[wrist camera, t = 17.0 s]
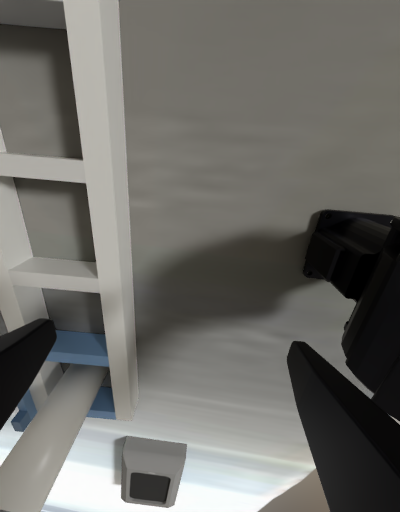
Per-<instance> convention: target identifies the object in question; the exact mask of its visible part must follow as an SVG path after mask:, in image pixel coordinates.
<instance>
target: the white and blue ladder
mask: <svg viewBox="0 0 400 512" xmlns="http://www.w3.org/2000/svg"><path fill="white" fill-rule="evenodd" d="M0 24H9V25H21V26H32V27H43V28H55V29H66V30H67V35H68V43H69V51H70V59H71V67H72V75H73V83H74V91H75V98H76V106H77V114H78V122H79V130H80V138H81V146H82V154H83V159H78V158H66V157H55V156H44V155H33V154H22V153H11V152H6V148H5V144H4V140H3V136H2V132H1V128H0V311H1V313H2V316H3V319H4V322H5V324H6V327H7V330H8V333H9V332H11V331H13V330H15V329H17V328H20V327H22V326H24V325H26V324H28V323H30V322H32V321H35V320H37V319H39V318H47V319H49V316H48V312H47V308H46V305H45V301H44V297H43V293H42V289H41V288H49V289H60V290H71V291H82V292H93V293H100V296H101V304H102V312H103V320H104V328H105V334H94V333H83V332H73V331H62V330H56V334H57V339H56V342H55V344H54V346H53V348H52V349H51V351H50V353H49V355H48V356H47V358H46V360H45V362H44V364H43V365H42V367H41V369H40V371H39V373H38V374H37V376H36V378H35V379H34V381H33V383H32V384H31V386H30V387H29V389H28V391H27V392H26V393H25V395H24V396H23V398H22V399H21V401H20V402H19V404H18V405H17V406H18V409H19V412H18V413H17V414H16V416H15V417H14V418H13V420H12V421H11V423H12V425H13V428H14V430H15V431H20V432H24V430H25V429H26V428H27V426H28V425H29V423H30V422H31V421H32V420H33V418H34V417H35V415H36V414H37V412H38V411H39V409H40V408H41V406H42V405H43V404H44V402H45V401H46V399H47V398H48V396H49V395H50V393H51V392H52V390H53V389H54V387H55V386H56V385H57V383H58V382H59V380H60V379H61V377H62V376H63V371H62V367H61V363H60V362H63V363H73V364H84V365H95V366H106V367H110V375H111V383H112V388H109V387H100V389H99V391H98V393H97V395H96V397H95V399H94V401H93V403H92V405H91V407H90V410H89V412H88V414H87V416H86V417H93V418H103V419H114V420H125V421H132V419H133V416H134V412H135V409H136V406H137V402H138V399H139V388H138V368H137V349H136V330H135V310H134V291H133V271H132V252H131V233H130V213H129V194H128V174H127V155H126V136H125V116H124V97H123V78H122V58H121V39H120V19H119V0H0ZM13 177H22V178H33V179H45V180H56V181H67V182H78V183H86V185H87V193H88V201H89V209H90V217H91V225H92V233H93V241H94V249H95V257H96V262H87V261H76V260H65V259H54V258H43V257H33V254H32V250H31V246H30V242H29V238H28V234H27V230H26V226H25V222H24V218H23V214H22V211H21V207H20V203H19V199H18V195H17V191H16V187H15V183H14V179H13Z"/></svg>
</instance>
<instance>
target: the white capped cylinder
mask: <svg viewBox="0 0 400 512" xmlns="http://www.w3.org/2000/svg"><path fill="white" fill-rule="evenodd" d="M108 369H109V367H106V366H95V365H84V364H73V363H71V364H70V365H69V367H68V368H67V370H66V371H65V373H64V374H63V376H62V377H61V379H60V380H59V382H58V383H57V385H56V386H55V387H54V389H53V390H52V392H51V393H50V395H49V396H48V398H47V399H46V401H45V402H44V404H43V405H42V406H41V408H40V409H39V411H38V412H37V414H36V415H35V417H34V418H33V420H32V421H31V423H30V424H29V425H28V427H27V428H26V430H25V431H24V433H23V434H22V436H21V437H20V439H19V440H18V442H17V443H16V445H15V446H14V447H13V449H12V450H11V452H10V453H9V455H8V456H7V458H6V459H5V461H4V462H3V464H2V465H1V466H0V512H40V511H41V509H42V507H43V505H44V503H45V501H46V499H47V497H48V495H49V493H50V490H51V488H52V486H53V484H54V482H55V480H56V478H57V476H58V474H59V472H60V470H61V468H62V466H63V463H64V461H65V459H66V457H67V455H68V453H69V451H70V449H71V447H72V445H73V443H74V441H75V439H76V437H77V434H78V432H79V430H80V428H81V426H82V424H83V422H84V420H85V418H86V416H87V414H88V412H89V410H90V407H91V405H92V403H93V401H94V399H95V397H96V395H97V393H98V391H99V389H100V387H101V385H102V383H103V380H104V378H105V376H106V374H107V372H108Z"/></svg>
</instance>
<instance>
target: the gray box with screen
mask: <svg viewBox="0 0 400 512" xmlns="http://www.w3.org/2000/svg"><path fill="white" fill-rule="evenodd" d="M186 449H187V444H182V443H175V442H168V441H160V440H153V439H146V438H139V437H132V436H127V437H126V441H125V444H124V447H123V453H122V483H121V499H122V500H124V501H125V502H127V503H135V504H142V505H150V506H158V507H166V508H169V507H171V506H173V505H174V504H175V500H176V496H177V492H178V488H179V484H180V480H181V476H182V472H183V468H184V464H185V459H186Z"/></svg>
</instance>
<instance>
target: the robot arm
mask: <svg viewBox="0 0 400 512" xmlns="http://www.w3.org/2000/svg"><path fill="white" fill-rule="evenodd" d="M328 213H329V217H327V218H325V216H326V214H328ZM391 220H392V222H391V223H390V221H391ZM305 259H306V262H305V266H304V269H303V274H304V275H305V276H306V277H307V278H316V279H325V280H326V281H327V282H330V283H331V284H332V285H333V286H334V287H335V288H336V289H337V290H338V291H339V292H340V293H341V294H342V295H343V296H344V297H345V298H348V299H353V300H354V301H355V302H356V306H355V308H354V310H353V312H352V314H351V317H350V319H349V321H347V322H346V324H345V326H344V331H345V332H344V334H343V336H342V343H341V345H342V348H343V351H344V353H345V356H346V358H347V359H346V362H345V363H346V365H347V366H348V367H349V369H350V370H351V371H352V373H353V374H354V375H355V376H356V378H357V379H358V380H359V381H360V382H361V383H362V384H363V385H364V386H365V387H366V388H367V389H369V390H370V391H371V392H372V393H374V395H373V397H372V398H371V399H370V398H368V397H367V396H366V395H365V394H364V393H363V392H362V391H360V390H359V389H358V388H357V387H356V386H355V385H354V384H352V383H351V382H350V381H349V380H348V379H347V378H346V377H344V376H343V375H342V374H341V373H340V372H339V371H338V370H336V369H335V368H334V367H333V366H332V365H331V364H330V363H328V362H327V361H326V360H325V359H324V358H323V357H322V356H320V355H319V354H318V353H317V352H316V351H315V350H313V349H312V348H311V347H310V346H309V345H308V344H307V343H305V342H301V341H293V342H292V344H291V347H290V350H289V353H288V356H287V365H288V369H289V374H290V378H291V383H292V388H293V392H294V397H295V401H296V405H297V409H298V412H299V416H300V419H301V422H302V425H303V428H304V431H305V434H306V437H307V441H308V444H309V447H310V450H311V453H312V456H313V459H314V462H315V466H316V469H317V472H318V475H319V478H320V481H321V484H322V487H323V490H324V493H325V497H326V500H327V503H328V506H329V509H330V512H400V425H399V424H398V423H397V422H396V421H395V420H394V419H393V418H391V417H390V416H392V417H394V418H395V419H397V420H398V421H400V217H396V216H393V215H384V214H373V213H362V212H351V211H340V210H329V209H327V210H324V211H323V212H322V213H321V214H320V217H319V221H318V224H317V227H316V230H315V232H314V233H313V234H312V237H311V241H310V244H309V247H308V250H307V254H306V257H305ZM308 271H311V272H310V273H308V274H307V272H308ZM56 339H57V334H56V330H55V326H54V322H53V320H52V319H47V318H39V319H37V320H35V321H32V322H30V323H28V324H26V325H24V326H22V327H20V328H17V329H15V330H13V331H11V332H9V333H7V334H5V335H2V336H0V430H1V429H2V427H3V426H4V424H5V423H6V421H7V420H8V418H9V417H10V416H11V414H12V413H13V411H14V410H15V408H16V407H17V405H18V404H19V402H20V401H21V399H22V398H23V396H24V395H25V393H26V392H27V391H28V389H29V387H30V386H31V384H32V383H33V381H34V379H35V378H36V376H37V374H38V373H39V371H40V369H41V367H42V365H43V364H44V362H45V360H46V358H47V356H48V355H49V353H50V351H51V349H52V348H53V346H54V344H55V342H56ZM388 414H389V415H390V416H389V415H388Z"/></svg>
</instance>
